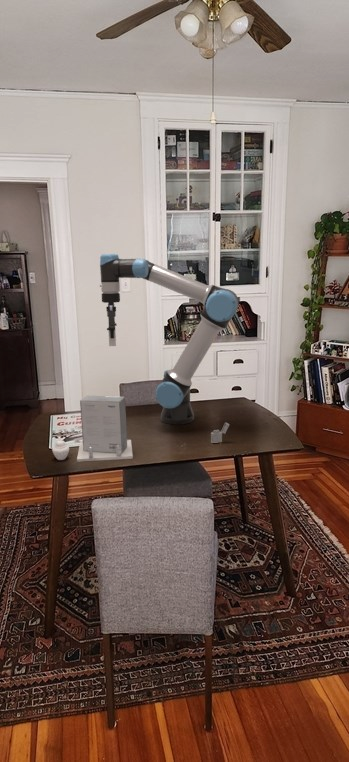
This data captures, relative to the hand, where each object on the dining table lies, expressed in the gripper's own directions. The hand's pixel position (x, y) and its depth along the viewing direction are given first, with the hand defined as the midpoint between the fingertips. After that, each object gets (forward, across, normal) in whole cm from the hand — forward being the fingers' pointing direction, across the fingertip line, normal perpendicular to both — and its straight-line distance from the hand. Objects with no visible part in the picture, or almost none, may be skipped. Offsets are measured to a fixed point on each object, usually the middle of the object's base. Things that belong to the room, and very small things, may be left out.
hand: (112, 343), depth 207 cm
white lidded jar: (+37, +35, -20) cm, 55 cm away
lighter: (+37, +27, +41) cm, 61 cm away
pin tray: (+37, +30, -4) cm, 48 cm away
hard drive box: (+36, +30, -4) cm, 47 cm away
